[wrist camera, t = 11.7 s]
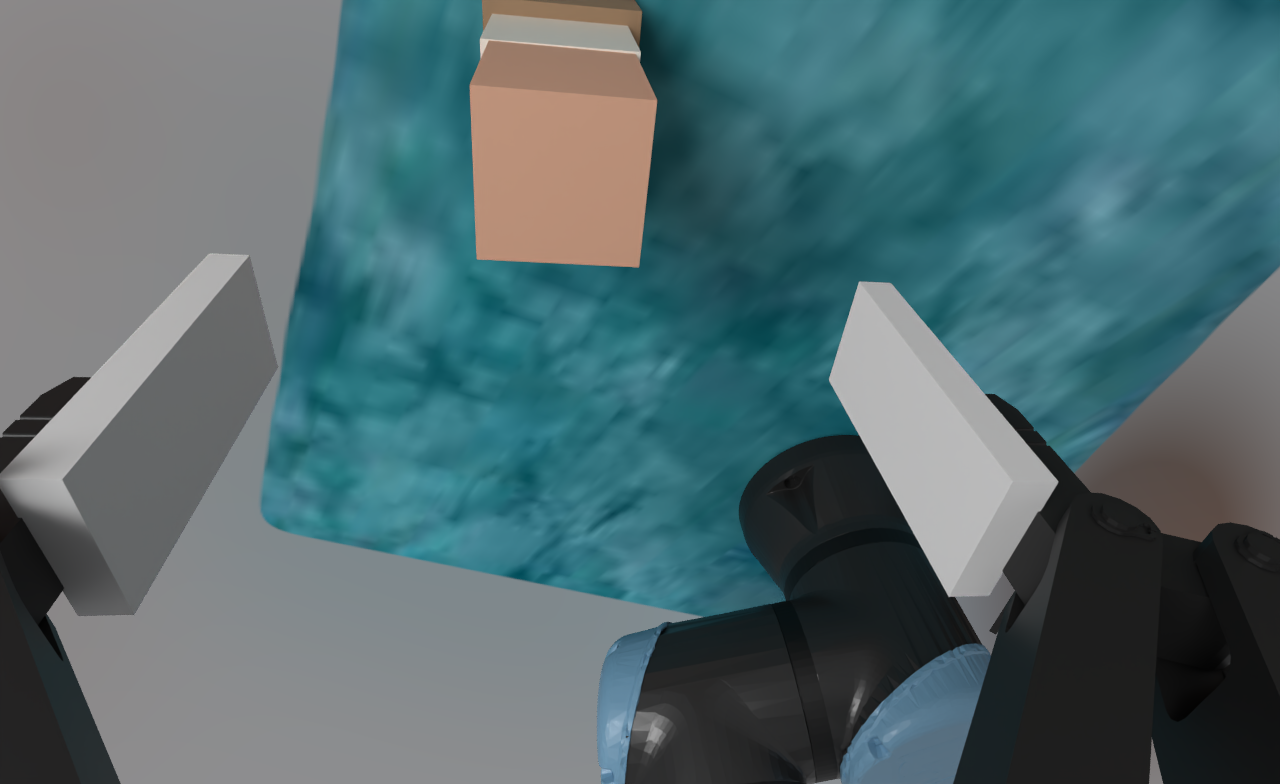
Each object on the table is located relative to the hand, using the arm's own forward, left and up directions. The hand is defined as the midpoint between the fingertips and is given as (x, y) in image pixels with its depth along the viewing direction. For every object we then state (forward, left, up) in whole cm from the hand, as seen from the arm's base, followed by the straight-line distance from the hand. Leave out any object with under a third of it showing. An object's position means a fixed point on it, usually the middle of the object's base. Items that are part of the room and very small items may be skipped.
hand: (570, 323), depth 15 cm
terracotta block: (0, 0, -15) cm, 15 cm away
